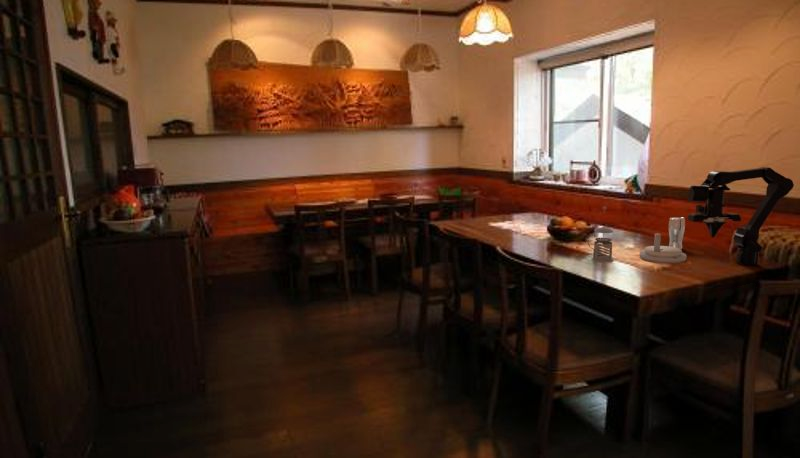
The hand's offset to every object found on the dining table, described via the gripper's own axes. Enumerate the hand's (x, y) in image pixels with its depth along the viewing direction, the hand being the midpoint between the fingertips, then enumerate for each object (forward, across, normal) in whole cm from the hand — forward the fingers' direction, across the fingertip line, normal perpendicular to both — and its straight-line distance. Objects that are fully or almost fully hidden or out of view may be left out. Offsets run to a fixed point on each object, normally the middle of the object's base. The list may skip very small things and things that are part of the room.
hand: (712, 237), depth 209 cm
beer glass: (+12, +1, -32) cm, 34 cm away
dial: (+10, +15, -12) cm, 22 cm away
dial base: (+12, +15, -12) cm, 23 cm away
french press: (+12, +43, -10) cm, 46 cm away
